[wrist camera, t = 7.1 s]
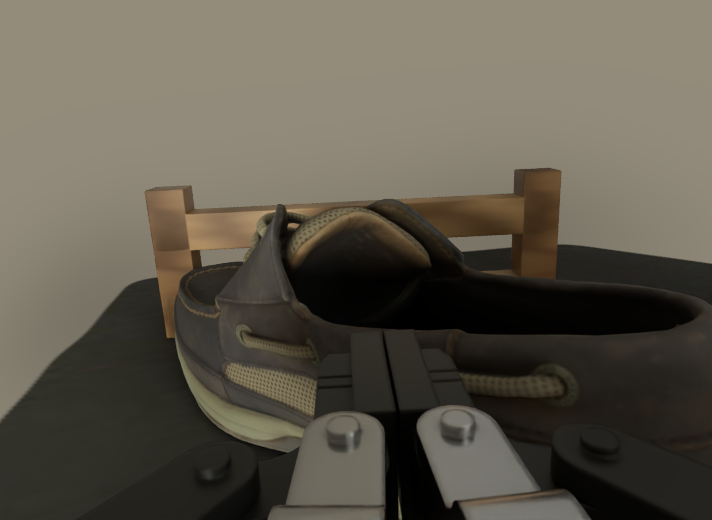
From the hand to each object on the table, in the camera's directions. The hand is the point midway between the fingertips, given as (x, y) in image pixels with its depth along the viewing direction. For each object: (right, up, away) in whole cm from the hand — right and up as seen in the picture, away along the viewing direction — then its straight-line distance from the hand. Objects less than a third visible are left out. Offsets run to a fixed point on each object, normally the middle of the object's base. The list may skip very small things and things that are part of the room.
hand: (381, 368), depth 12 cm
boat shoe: (0, -5, +12) cm, 13 cm away
